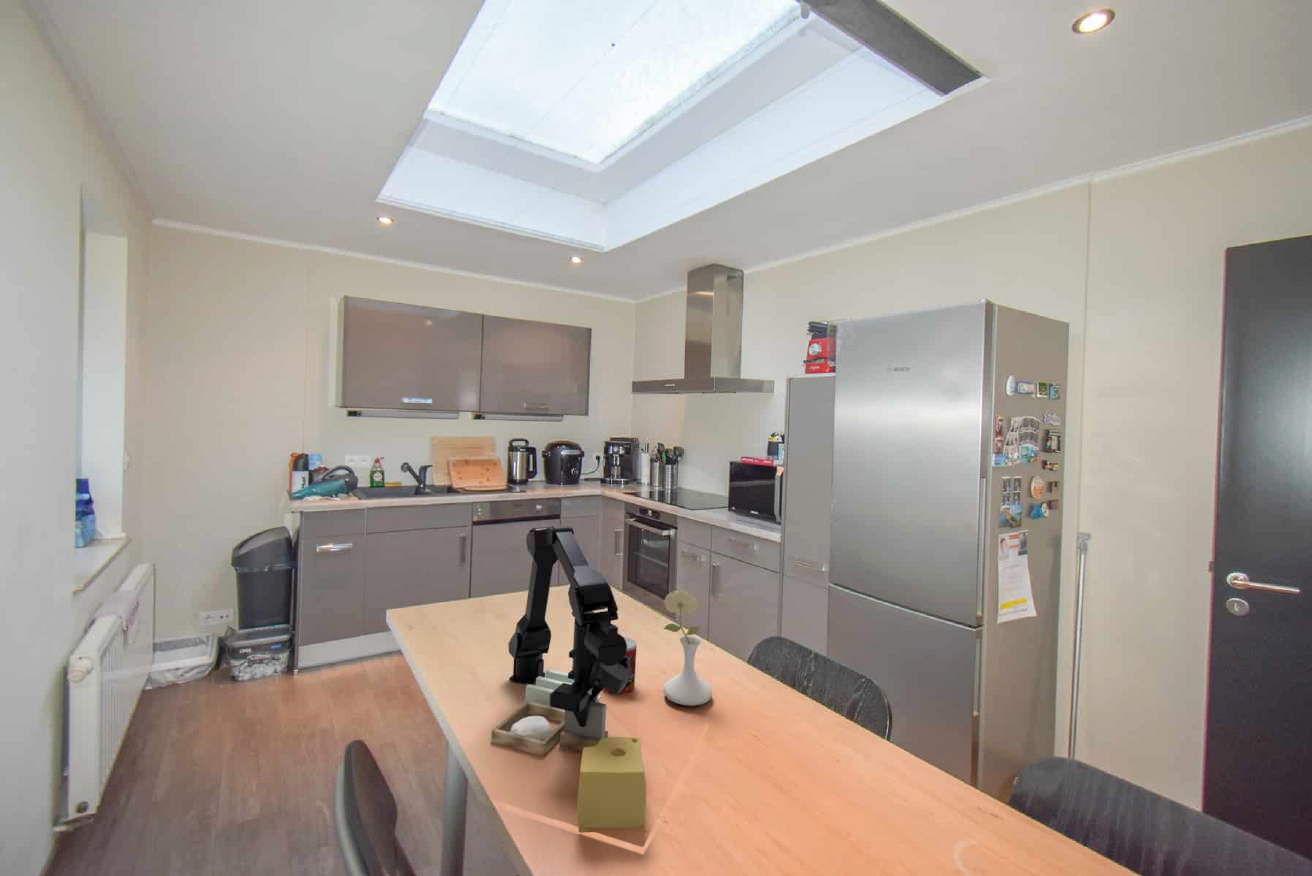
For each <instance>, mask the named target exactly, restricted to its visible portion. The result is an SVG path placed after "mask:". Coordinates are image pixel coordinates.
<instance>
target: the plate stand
mask: <svg viewBox="0 0 1312 876" xmlns="http://www.w3.org/2000/svg"><path fill="white" fill-rule="evenodd" d="M607 737H609V731H608V730H605V738H607ZM599 741H600V740H596V739H592V738H588V737H584V736H581V735H577V734H573V733H569V732H565V731H563V732H562V733H561V734H560V740H559V747H558V749H559V750H562V751H565V752H566V751H567V752H569V753H574V754H577V755H580V756H582V753H583V749H584V748H585V747H593V746H596V745H597V744H598V742H599Z"/></svg>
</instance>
